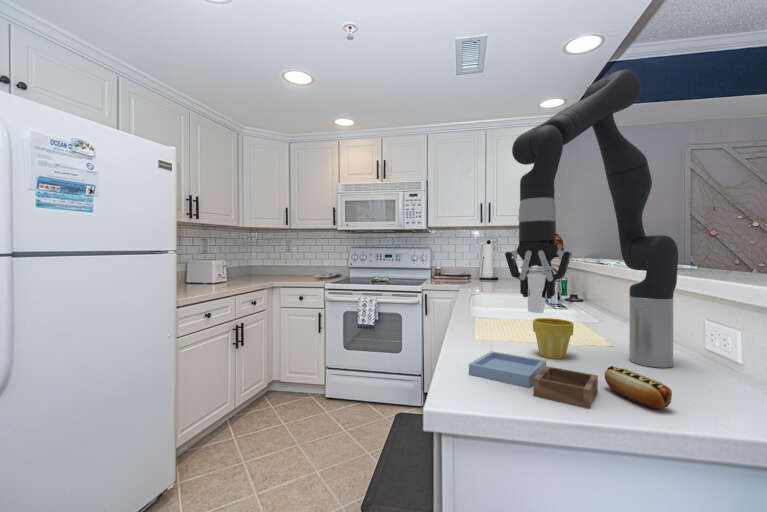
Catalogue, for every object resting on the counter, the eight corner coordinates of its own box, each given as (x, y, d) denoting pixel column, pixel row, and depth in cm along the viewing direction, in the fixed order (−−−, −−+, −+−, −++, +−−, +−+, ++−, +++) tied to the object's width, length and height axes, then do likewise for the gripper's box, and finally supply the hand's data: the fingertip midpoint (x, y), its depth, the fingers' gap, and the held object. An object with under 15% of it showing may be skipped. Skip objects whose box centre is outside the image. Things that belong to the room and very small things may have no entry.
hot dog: (654, 415, 65) (654, 388, 64) (597, 388, 78) (597, 365, 78) (677, 413, 65) (677, 385, 65) (617, 386, 78) (617, 363, 78)
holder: (546, 381, 81) (546, 366, 81) (597, 392, 75) (597, 375, 75) (533, 395, 73) (533, 378, 73) (589, 408, 67) (589, 390, 67)
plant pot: (575, 353, 103) (575, 319, 103) (571, 363, 95) (571, 326, 95) (536, 348, 109) (536, 316, 109) (529, 357, 100) (529, 322, 100)
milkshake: (553, 314, 77) (555, 268, 77) (527, 313, 78) (529, 267, 78) (547, 310, 82) (549, 266, 81) (522, 309, 83) (525, 265, 82)
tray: (491, 360, 97) (491, 351, 97) (546, 370, 89) (546, 360, 89) (468, 374, 86) (468, 364, 86) (529, 387, 78) (529, 376, 78)
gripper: (575, 219, 79) (576, 298, 79) (509, 223, 87) (509, 294, 87) (569, 217, 73) (570, 302, 73) (499, 221, 81) (499, 297, 81)
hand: (537, 297), depth 80 cm, fingers closed on milkshake, 4 cm apart
